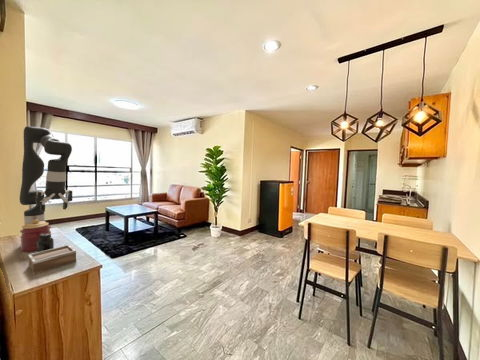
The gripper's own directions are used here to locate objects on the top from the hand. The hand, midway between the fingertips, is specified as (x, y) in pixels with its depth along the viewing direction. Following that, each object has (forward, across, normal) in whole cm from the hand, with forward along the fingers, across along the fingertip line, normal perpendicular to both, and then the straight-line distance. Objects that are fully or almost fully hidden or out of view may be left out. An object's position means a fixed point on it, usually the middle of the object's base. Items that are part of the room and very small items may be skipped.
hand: (54, 210), depth 106 cm
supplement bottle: (+29, -1, -9) cm, 30 cm away
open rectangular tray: (+27, +1, +6) cm, 28 cm away
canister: (+30, -1, -25) cm, 39 cm away
